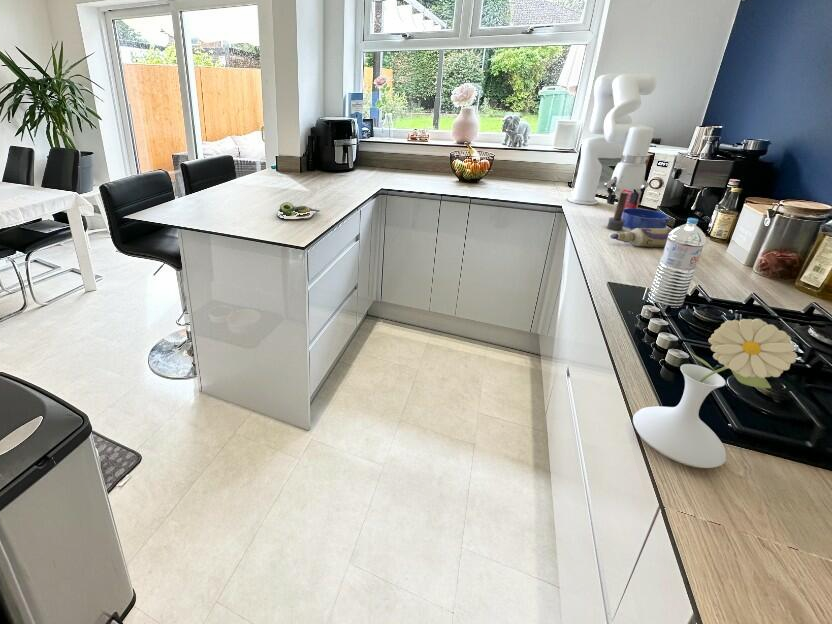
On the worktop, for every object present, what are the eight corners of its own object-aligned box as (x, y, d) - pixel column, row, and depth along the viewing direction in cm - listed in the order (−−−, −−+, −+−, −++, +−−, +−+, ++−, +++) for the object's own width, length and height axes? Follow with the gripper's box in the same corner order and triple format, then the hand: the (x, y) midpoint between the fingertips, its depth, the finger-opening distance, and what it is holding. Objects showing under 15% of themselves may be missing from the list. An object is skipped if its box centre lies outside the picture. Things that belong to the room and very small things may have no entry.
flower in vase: (616, 433, 66) (662, 302, 57) (648, 407, 72) (694, 283, 63) (720, 498, 56) (795, 350, 47) (748, 462, 61) (820, 322, 52)
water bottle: (662, 304, 105) (693, 214, 97) (685, 318, 99) (721, 223, 90) (637, 305, 105) (666, 214, 96) (659, 318, 99) (692, 223, 90)
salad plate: (320, 209, 190) (320, 200, 189) (319, 220, 174) (318, 210, 172) (280, 209, 191) (280, 199, 190) (275, 220, 175) (274, 210, 173)
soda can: (628, 213, 181) (635, 187, 177) (638, 217, 175) (646, 191, 171) (611, 212, 182) (618, 187, 178) (621, 217, 176) (628, 190, 171)
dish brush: (603, 226, 164) (613, 191, 159) (616, 226, 164) (626, 191, 159) (612, 230, 159) (622, 194, 154) (625, 230, 159) (635, 194, 154)
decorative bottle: (678, 243, 146) (684, 226, 144) (693, 251, 139) (700, 233, 137) (602, 240, 150) (607, 223, 147) (613, 247, 143) (618, 230, 140)
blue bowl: (610, 220, 172) (613, 208, 170) (645, 220, 172) (649, 208, 170) (636, 232, 158) (640, 219, 156) (674, 232, 157) (678, 219, 155)
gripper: (648, 158, 155) (636, 201, 162) (604, 158, 155) (593, 201, 162) (664, 161, 148) (650, 206, 154) (617, 161, 148) (605, 206, 155)
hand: (621, 203), depth 158 cm, fingers open, 8 cm apart
